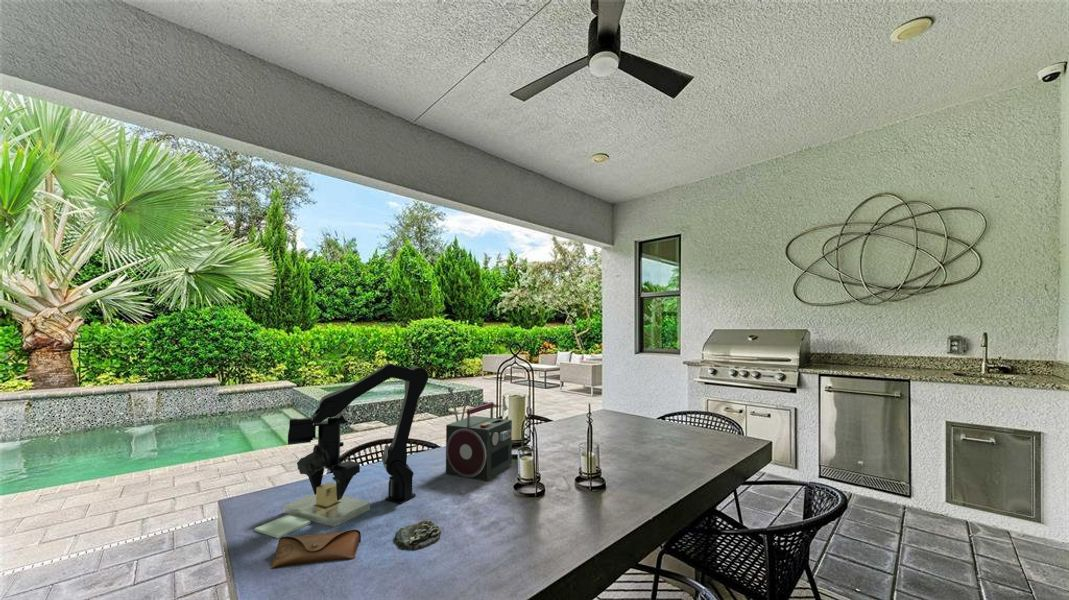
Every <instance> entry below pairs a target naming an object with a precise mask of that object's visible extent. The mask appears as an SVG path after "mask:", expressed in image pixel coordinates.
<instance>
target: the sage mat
mask: <svg viewBox="0 0 1069 600" xmlns="http://www.w3.org/2000/svg"><path fill="white" fill-rule="evenodd" d="M311 523H312V521H310V520H307V519H303V518H300V517H296V516H293V515H289V514H285V515H283V516H281V517H279V518H276V519H274V520H272V521H268V522H266V523H264V524H261V525H260V526H256V527H255V528H254V531H255V532H257V533H261V534H264V535H267V536H269V537H273V538H276V539H280V538H281V537H285V536H286V535H288V534H290V533H293V532H294V531H296V530H298V529H299V530H300V529H301V528H303V527H305V526H308V525H310V524H311Z"/></svg>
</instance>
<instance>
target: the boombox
mask: <svg viewBox="0 0 1069 600" xmlns="http://www.w3.org/2000/svg"><path fill="white" fill-rule="evenodd" d="M447 391H448V392H449V394H450V397H451V402H452V407H453V411H454V415H455V420H456V421H453V422H451V423H449V424H446V426H445V433H446V434H445V439H446V440H445V442H446V443H445V475H449V476H454V477H461V478H466V479H472V480H478V481H482V482H489V481H491V480H492V479H494V478H495V477H498V476H499V475H500V474H502V473H503V472H505V471H507V470H509V469H510V468H512V465H513V463H512V460H513V459H512V458H513V457H512V453H513V449H512V446H513V443H512V442H513V440H512V438H513V430H512V429H513V427H512V426H513V420H512V419H508V418H507V419H504V418H497V417H496V418H495V417H494V402H493V401H490V402H486V403H484V404H480V405H477V406H474V407H470V408H467V403H468V398H469V397H470V395H471V392H470V391H465V392H464V396H465V399H464V404H463V408H462V413H461V418H460V420H459V417H458V412H457V406H456V402H455V398H454V393H453V392H454V387H453V386H449V387H448V388H447ZM466 408H467V409H466ZM487 409H490V411H489V412H490V413H489V415H490V417H489V416H478V415H472V414H476V413H478V412H482V411H485V410H487ZM465 413H466V415H467V417H466V418H464V417H465ZM471 415H472V416H471Z"/></svg>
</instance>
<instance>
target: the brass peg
mask: <svg viewBox="0 0 1069 600" xmlns="http://www.w3.org/2000/svg"><path fill="white" fill-rule="evenodd" d="M336 504H338V500H337V492H336V483H333V482H326V483H325V484H321V486H318V487H317V489H316V507H320V508H323V509H327V508H329V507H332V506H334V505H336Z"/></svg>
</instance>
